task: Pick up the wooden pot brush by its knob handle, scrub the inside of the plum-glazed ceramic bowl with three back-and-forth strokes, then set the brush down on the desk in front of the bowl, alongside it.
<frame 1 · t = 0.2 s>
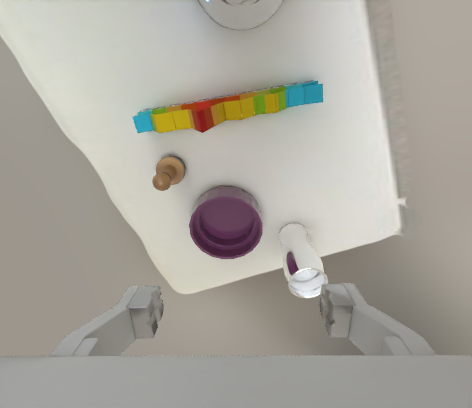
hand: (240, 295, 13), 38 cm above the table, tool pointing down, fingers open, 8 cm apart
bowl: (227, 216, 55), on the table
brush: (173, 167, 50), on the table
chart: (226, 104, 45), on the table
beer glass: (292, 234, 57), on the table
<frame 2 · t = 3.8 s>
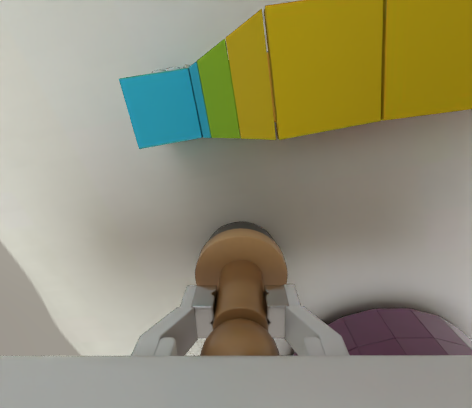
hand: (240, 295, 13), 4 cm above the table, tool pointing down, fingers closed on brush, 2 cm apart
bowl: (372, 374, 20), on the table
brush: (241, 253, 17), on the table, touching gripper
chart: (453, 55, 13), on the table
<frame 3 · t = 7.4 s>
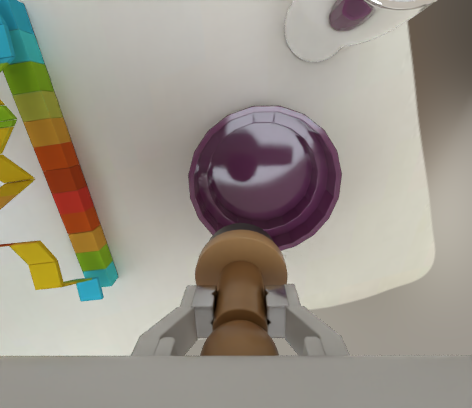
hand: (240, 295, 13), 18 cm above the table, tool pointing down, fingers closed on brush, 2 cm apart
bowl: (260, 173, 29), on the table
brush: (241, 254, 17), point 14 cm above the table, touching gripper
chart: (67, 165, 30), on the table
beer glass: (316, 26, 24), on the table
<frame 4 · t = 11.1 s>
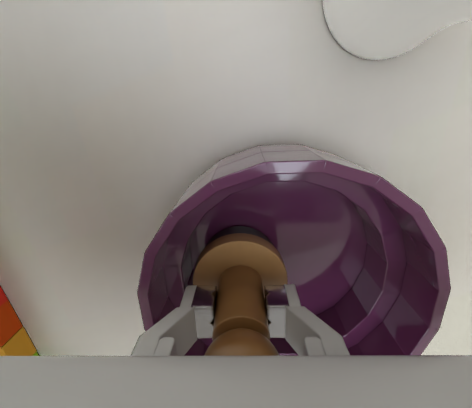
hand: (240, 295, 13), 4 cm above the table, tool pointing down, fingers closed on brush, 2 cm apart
bowl: (275, 250, 17), on the table
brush: (239, 258, 17), point 1 cm above the table, touching gripper
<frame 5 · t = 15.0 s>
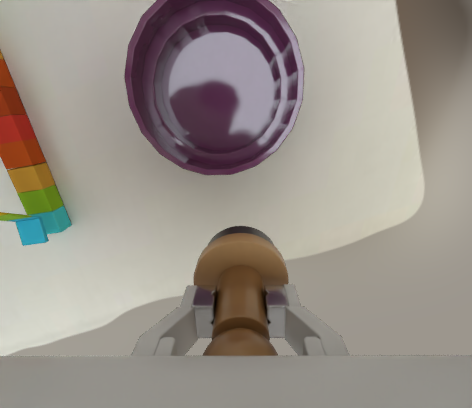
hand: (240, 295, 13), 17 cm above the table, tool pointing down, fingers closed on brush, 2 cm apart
bowl: (219, 92, 26), on the table
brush: (240, 258, 17), point 13 cm above the table, touching gripper
chart: (2, 90, 26), on the table
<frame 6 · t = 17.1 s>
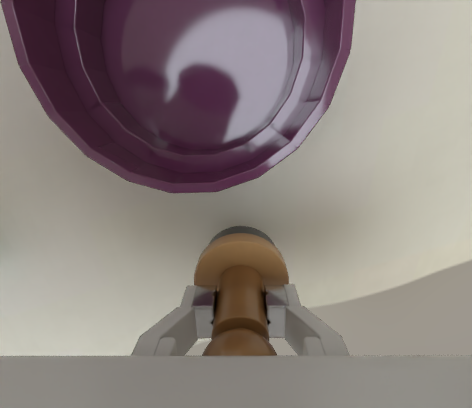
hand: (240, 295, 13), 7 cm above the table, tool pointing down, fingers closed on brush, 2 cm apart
bowl: (199, 54, 16), on the table
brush: (241, 258, 17), point 3 cm above the table, touching gripper
when the fingers open (4 cm above the table, at t = 18.3 s): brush stays where it is, on the table.
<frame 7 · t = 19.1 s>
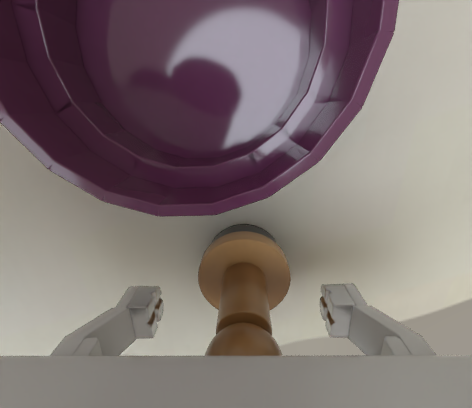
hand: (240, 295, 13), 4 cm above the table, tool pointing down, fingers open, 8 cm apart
bowl: (195, 44, 13), on the table
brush: (244, 256, 17), on the table
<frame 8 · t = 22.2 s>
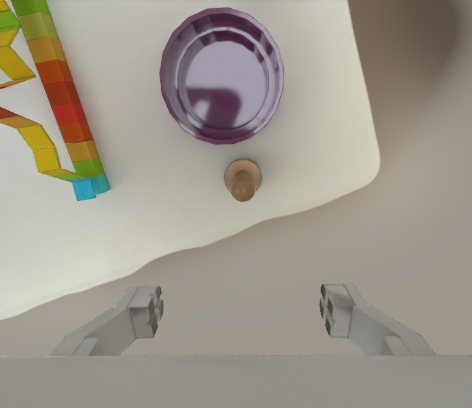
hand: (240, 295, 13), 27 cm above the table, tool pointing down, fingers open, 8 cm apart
bowl: (224, 85, 35), on the table
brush: (243, 174, 39), on the table
chart: (63, 84, 35), on the table
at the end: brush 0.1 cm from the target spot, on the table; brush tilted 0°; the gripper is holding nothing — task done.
